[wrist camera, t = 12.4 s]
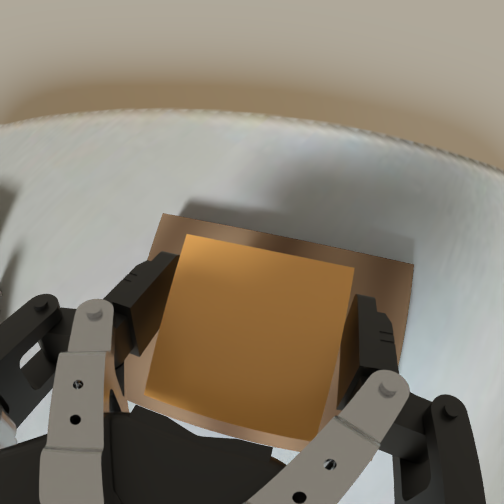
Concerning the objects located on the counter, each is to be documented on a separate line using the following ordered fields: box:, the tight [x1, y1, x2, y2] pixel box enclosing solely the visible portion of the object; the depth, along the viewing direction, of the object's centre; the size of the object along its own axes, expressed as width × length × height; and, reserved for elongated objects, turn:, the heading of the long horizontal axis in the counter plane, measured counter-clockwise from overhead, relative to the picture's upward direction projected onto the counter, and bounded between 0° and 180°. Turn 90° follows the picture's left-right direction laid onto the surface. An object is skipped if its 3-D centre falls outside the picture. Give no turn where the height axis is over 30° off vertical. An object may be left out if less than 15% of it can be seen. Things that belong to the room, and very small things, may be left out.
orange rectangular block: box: [144, 234, 355, 441], centre depth 13 cm, size 6×6×8 cm
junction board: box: [126, 213, 414, 461], centre depth 18 cm, size 16×12×2 cm
